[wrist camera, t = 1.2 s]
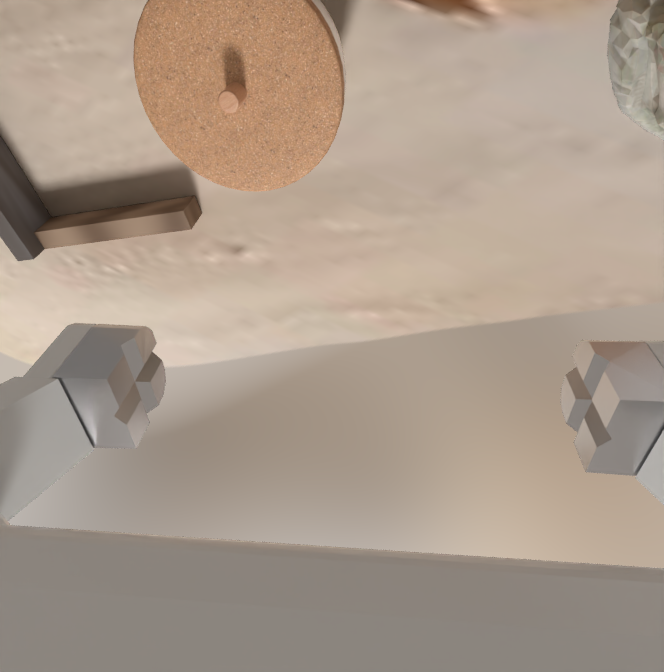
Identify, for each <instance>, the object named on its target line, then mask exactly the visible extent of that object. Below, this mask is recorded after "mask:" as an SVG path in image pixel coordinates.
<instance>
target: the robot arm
mask: <svg viewBox="0 0 664 672" xmlns="http://www.w3.org/2000/svg"><path fill="white" fill-rule="evenodd" d="M155 345H156V340H155V338H154V335H153V332H152V330H151V329H149V328H148V327H146V326H128V325H109V324H98V325H97V324H83V323H74V324H71V325H68V326H67V327H66V328H65V329H64V330H63V331H62V332H61V333H60V335H59V336H58V337H57V338H56V339H55V340H54V342H53V343H52V344H51V345H50V346H49V347H48V349H47V350H46V351H45V352H44V353H43V354H42V355H41V357H40V358H39V359H38V360H37V361H36V362H35V364H34V365H33V366H32V367H31V368H30V369H29V371H28V372H27V373H26V374H25V375H24V376H23V377H14V378H12V379H10V380H8V381H6V382H4V383H2V384H0V672H664V568H649V567H634V566H633V567H632V566H618V565H604V564H589V563H573V562H558V561H541V560H527V559H512V558H495V557H481V556H464V555H449V554H433V553H419V552H404V551H388V550H373V549H359V548H343V547H329V546H313V545H300V544H285V543H270V542H269V543H268V542H255V541H240V540H225V539H209V538H195V537H179V536H165V535H149V534H135V533H120V532H105V531H90V530H74V529H60V528H45V527H28V526H15V525H10V524H9V522H8V521H9V520H10V519H11V518H12V517H14V516H15V515H16V514H17V513H18V512H20V511H21V510H22V509H23V508H25V507H26V506H27V505H28V504H29V503H31V502H32V501H33V500H34V499H36V498H37V497H38V496H39V495H40V494H42V493H43V492H44V491H45V490H46V489H48V488H49V487H50V486H51V485H52V484H54V483H55V482H56V481H57V480H58V479H60V478H61V477H62V476H63V475H65V474H66V473H67V472H68V471H69V470H70V469H72V468H73V467H74V466H75V465H77V464H78V463H79V462H80V461H81V460H83V459H84V458H85V457H86V456H88V455H89V454H90V453H91V452H92V451H94V448H124V449H125V448H128V449H137V447H138V445H139V443H140V441H141V439H142V437H143V435H144V433H145V431H146V429H147V427H148V425H149V423H150V421H149V419H148V416H147V413H148V412H149V411H151V410H153V409H154V408H155V407H157V406H158V405H159V403H160V401H161V399H162V397H163V394H164V388H165V382H166V377H165V369H164V365H163V362H162V360H161V359H160V358H159V357H158V356H156V355H155V354H154V353H153V352H152V350H153V349H154V347H155ZM572 357H573V360H574V362H575V364H576V368H574V369H573V370H572V371H570V372H569V373H568V374H566V375H565V378H564V381H563V385H562V388H561V407H562V413H563V416H564V418H565V421H566V423H567V424H568V425H569V426H570V427H572V428H573V429H574V430H575V431H577V432H578V433H577V436H576V438H575V440H574V444H575V447H576V449H577V452H578V454H579V457H580V459H581V462H582V464H583V467H584V469H585V471H586V472H593V473H605V474H618V475H632V476H636V477H635V478H636V479H637V480H638V481H639V482H640V483H641V484H642V485H643V486H644V487H645V488H646V489H647V490H648V491H649V492H651V493H652V494H653V495H654V496H655V497H656V498H657V499H658V500H659V501H660V502H661V503H662V504H663V505H664V341H639V342H637V341H636V342H635V341H599V340H581V341H580V342H579V344H578V345H577V346H576V348H575V351H574V354H573V356H572Z"/></svg>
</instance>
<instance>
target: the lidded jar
mask: <svg viewBox="0 0 664 672" xmlns="http://www.w3.org/2000/svg"><path fill="white" fill-rule="evenodd" d="M134 69H135V78H136V83H137V87H138V91H139V95H140V98H141V101H142V103H143V106H144V109H145V112H146V114H147V116H148V117H149V119H150V121H151V123H152V125H153V127H154V129H155V130H156V132H157V133H158V135H159V136H160V138H161V139H162V141H163V142H164V143H165V144H166V145H167V147H168V148H169V149H170V150H171V151H172V152H173V154H174V155H175V156H177V157H178V158H179V159H180V160H181V161H182V162H183V163H184V164H185V165H186V166H188V167H189V168H191V169H192V170H193V171H195V172H196V173H198V174H199V175H201V176H203V177H205V178H207V179H208V180H210V181H212V182H214V183H217V184H220V185H223V186H225V187H228V188H233V189H237V190H242V191H267V190H273V189H277V188H281V187H284V186H286V185H289V184H291V183H293V182H296V181H297V180H299V179H300V178H302V177H303V176H305V175H306V174H308V173H309V172H310V171H311V170H312V169H313V168H314V167H315V166H316V165H317V164H318V163H319V162H320V161H321V160H322V158H323V157H324V156H325V154H326V153H327V152H328V150H329V148H330V146H331V144H332V142H333V140H334V138H335V136H336V133H337V130H338V127H339V124H340V121H341V117H342V111H343V105H344V95H345V86H346V70H345V61H344V52H343V49H342V45H341V41H340V37H339V34H338V32H337V29H336V27H335V24H334V22H333V20H332V18H331V16H330V15H329V13H328V11H327V9H326V8H325V6H324V4H323V3H322V2H321V1H320V0H148V2H147V3H146V5H145V7H144V9H143V12H142V14H141V17H140V19H139V22H138V26H137V31H136V35H135V40H134Z"/></svg>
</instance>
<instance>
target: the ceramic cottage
mask: <svg viewBox="0 0 664 672" xmlns="http://www.w3.org/2000/svg"><path fill="white" fill-rule="evenodd" d="M616 7H617V10H616V11H615V13H614V14H613V16H612V18H611V19H610V21H611V23H610V32H609V41H608V53H607V57H608V63H609V71H610V78H611V82H612V88H613V90H614V95H615V96H616V98H617V102H618V106H619V108H620V110H621V111H622V112H623V113H624V114H625V115H626V116H628V117H629V118H630V119H631V120H633V121H634V122H635V123H637V124H638V125H640V126H641V127H642V128H643V129H645V130H646V131H648V132H650V133H652V134H654V135H656V136H657V137H659V138H660V139H662V140H663V141H664V0H619V2H618V4H617V6H616Z"/></svg>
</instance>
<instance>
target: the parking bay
mask: <svg viewBox="0 0 664 672" xmlns="http://www.w3.org/2000/svg"><path fill="white" fill-rule="evenodd" d="M201 214H202V212H201V210H200V207H199V205H198V202H197V200H196V198H195V196H189V197H183V198H176V199H170V200H163V201H156V202H150V203H143V204H136V205H130V206H123V207H117V208H110V209H103V210H97V211H90V212H84V213H77V214H70V215H64V216H57V217H51V216H50V215H49V213H48V211H47V210H46V208H45V207H44V205H43V203H42V202H41V200H40V199H39V197H38V195H37V194H36V192H35V191H34V189H33V187H32V186H31V184H30V183H29V181H28V179H27V178H26V176H25V175H24V173H23V171H22V170H21V168H20V167H19V165H18V163H17V162H16V160H15V159H14V157H13V155H12V154H11V152H10V151H9V149H8V147H7V146H6V144H5V143H4V141H3V139H2V138H1V136H0V237H1V238H2V240H3V241H4V242H5V244H6V245H7V247H8V248H9V249H10V251H11V252H12V253H13V255H14V256H15V258H16V259H17V260H18V261H23V260H30V259H34V258H36V257H37V256H38V255H39V254H40V253H41V252H42V251H43V250H44V249H48V248H56V247H63V246H71V245H78V244H86V243H93V242H100V241H108V240H115V239H123V238H130V237H138V236H145V235H152V234H160V233H167V232H175V231H182V230H190V229H192V227H193V226H194V225H195V223H196V222H197V220H198V219H199V217H200V216H201Z"/></svg>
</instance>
